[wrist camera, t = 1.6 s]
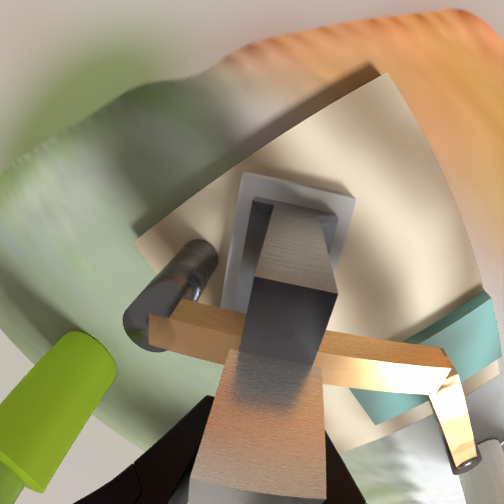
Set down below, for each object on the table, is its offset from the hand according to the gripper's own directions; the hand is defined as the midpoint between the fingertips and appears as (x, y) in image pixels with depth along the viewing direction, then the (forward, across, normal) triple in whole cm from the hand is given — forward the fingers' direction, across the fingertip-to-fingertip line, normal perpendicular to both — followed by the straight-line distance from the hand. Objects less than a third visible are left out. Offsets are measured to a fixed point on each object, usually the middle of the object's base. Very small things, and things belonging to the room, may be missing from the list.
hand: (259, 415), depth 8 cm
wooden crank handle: (+10, -5, +4) cm, 12 cm away
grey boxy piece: (+9, 0, 0) cm, 9 cm away
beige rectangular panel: (+11, -6, +2) cm, 13 cm away
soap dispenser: (+11, +14, +13) cm, 22 cm away
